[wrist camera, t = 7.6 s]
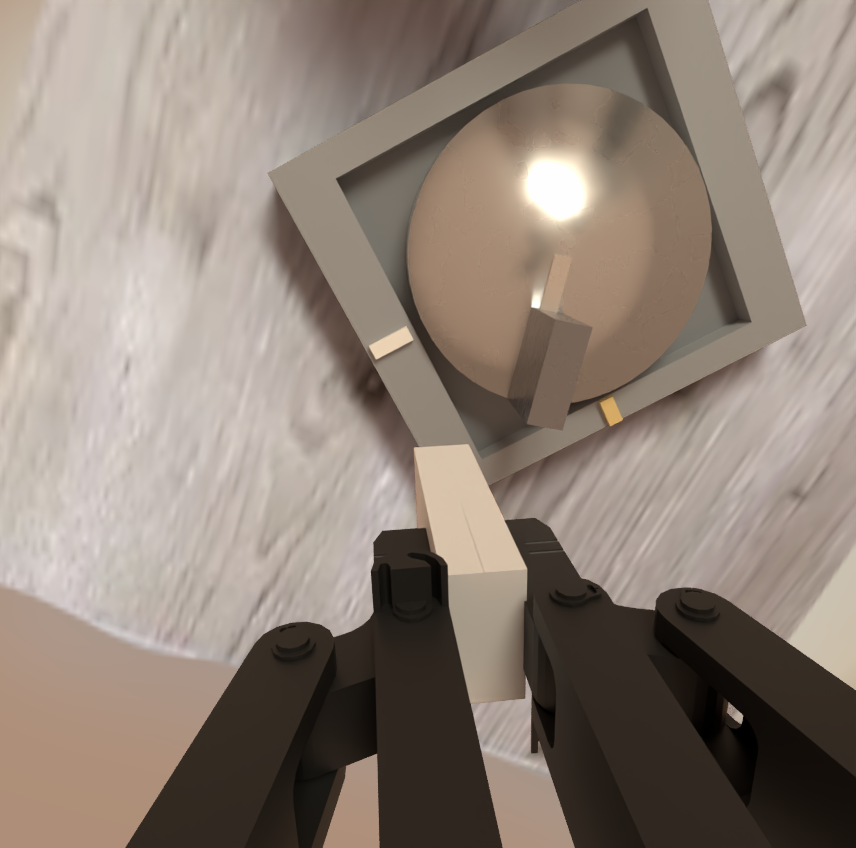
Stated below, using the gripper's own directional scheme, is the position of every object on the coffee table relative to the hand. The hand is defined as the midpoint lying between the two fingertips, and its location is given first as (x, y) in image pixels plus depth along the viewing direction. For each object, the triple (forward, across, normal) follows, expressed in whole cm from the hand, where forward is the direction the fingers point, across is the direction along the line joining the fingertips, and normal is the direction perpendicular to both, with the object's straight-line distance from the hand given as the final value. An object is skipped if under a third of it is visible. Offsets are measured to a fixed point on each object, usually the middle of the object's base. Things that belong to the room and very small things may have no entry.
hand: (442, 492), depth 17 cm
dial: (+15, +7, +5) cm, 17 cm away
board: (+17, +7, +6) cm, 19 cm away
